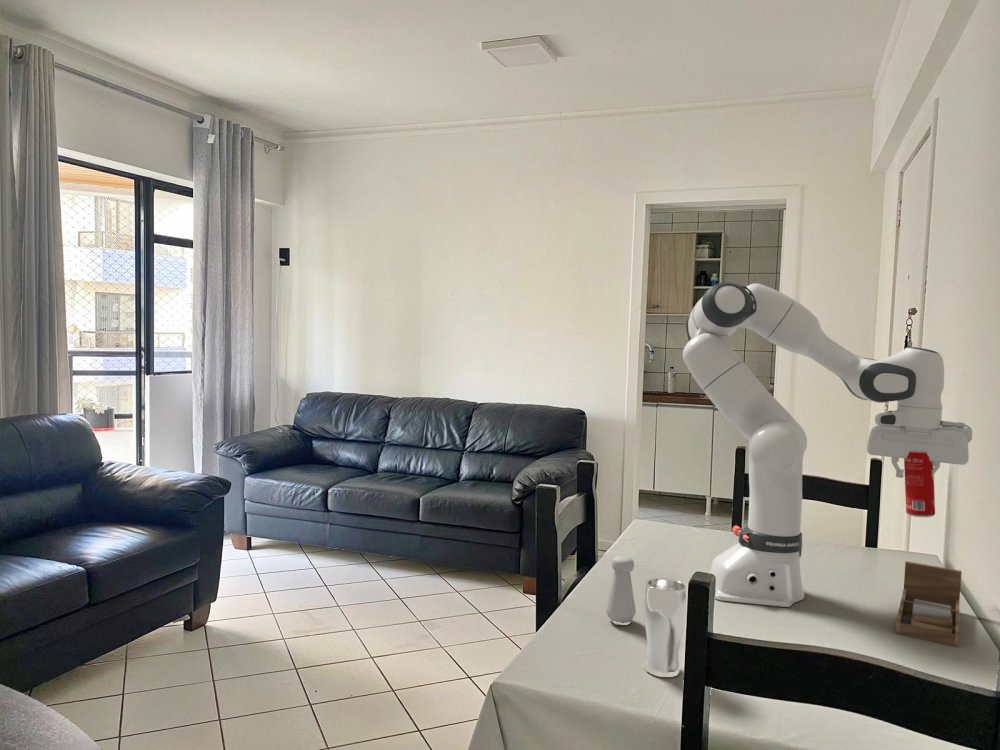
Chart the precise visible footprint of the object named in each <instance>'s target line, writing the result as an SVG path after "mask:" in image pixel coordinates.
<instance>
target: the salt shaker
mask: <svg viewBox="0 0 1000 750" xmlns="http://www.w3.org/2000/svg"><path fill="white" fill-rule="evenodd" d="M634 563H635V561H634V560H633V558H631V557H630V556H624V555H617V556H615V557H613V559H612V560H611V567H612V569H613V576H612V581H611V584H610V589H609V593H608V596H607V600H606V605H605V613H606V615H607V617H609V618H610V619H611V620H612V621H616V622H621V623H625V622H626V623H627V622H631V623H632V621H633V619H634V617H635V615H636V614H637V613H636V604H635V598H634V590H633V585H632V584H633V583H632V576H631V572H633V571H634V568H635V564H634ZM609 618H608V619H609Z"/></svg>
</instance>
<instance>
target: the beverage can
mask: <svg viewBox="0 0 1000 750" xmlns="http://www.w3.org/2000/svg"><path fill="white" fill-rule="evenodd" d="M903 461H904V462H903V465H904V493H905V496H904V497H905V513H906V514H907V515H908V516H910V517H916V518H932V517H935V515H936V503H935V502H936V501H935V497H936V495H935V476H934V475H935V474H934V475H933V469H934V467H933V462H932V461H930V459H929V456H928V455H927V452H910V451H909V454H908V456H907V458H906V459H904V458H903Z"/></svg>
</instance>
